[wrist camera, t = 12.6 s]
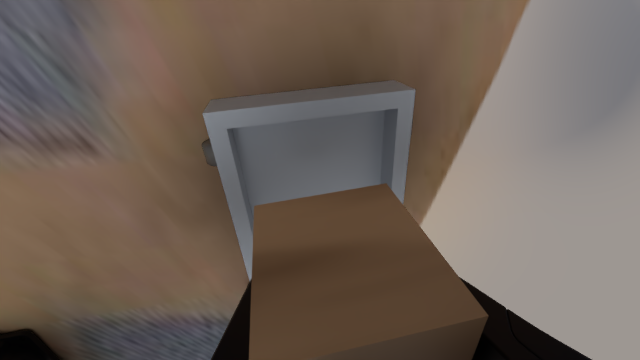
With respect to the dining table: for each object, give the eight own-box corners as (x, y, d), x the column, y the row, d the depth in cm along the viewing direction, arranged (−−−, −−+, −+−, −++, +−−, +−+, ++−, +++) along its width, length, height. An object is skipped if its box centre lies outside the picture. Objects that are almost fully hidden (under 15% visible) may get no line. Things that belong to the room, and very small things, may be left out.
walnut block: (381, 272, 12) (450, 415, 8) (276, 295, 11) (285, 462, 7) (386, 183, 10) (488, 315, 5) (253, 205, 9) (248, 373, 5)
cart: (389, 278, 29) (402, 303, 26) (253, 306, 27) (253, 336, 25) (407, 78, 19) (431, 87, 16) (194, 101, 17) (182, 115, 14)
